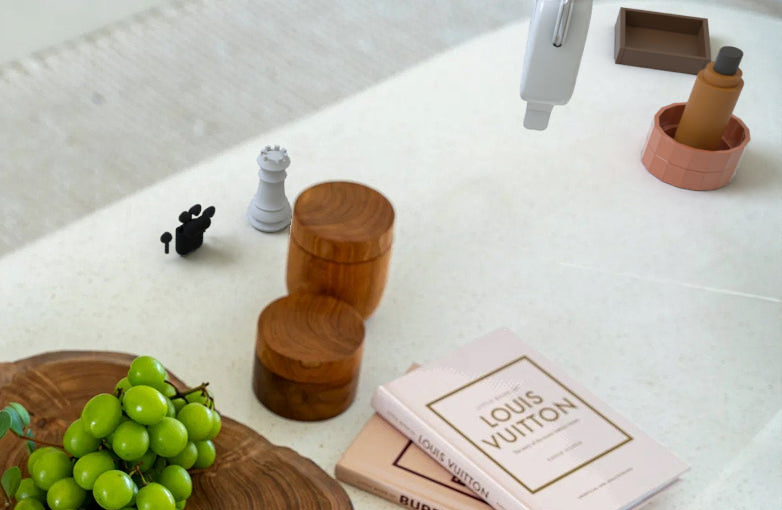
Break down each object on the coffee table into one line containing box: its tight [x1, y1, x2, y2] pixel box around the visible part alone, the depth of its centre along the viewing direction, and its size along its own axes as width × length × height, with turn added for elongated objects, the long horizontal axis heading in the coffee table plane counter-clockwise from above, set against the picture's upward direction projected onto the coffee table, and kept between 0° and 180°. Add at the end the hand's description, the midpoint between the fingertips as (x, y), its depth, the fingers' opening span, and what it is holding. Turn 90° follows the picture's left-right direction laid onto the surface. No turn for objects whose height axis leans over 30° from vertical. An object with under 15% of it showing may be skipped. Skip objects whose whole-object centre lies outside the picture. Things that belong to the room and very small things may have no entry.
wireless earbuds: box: [159, 203, 216, 257], centre depth 109 cm, size 7×2×5 cm, turn 133°
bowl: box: [640, 101, 752, 192], centre depth 119 cm, size 9×9×5 cm
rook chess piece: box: [246, 144, 292, 233], centre depth 111 cm, size 4×4×8 cm
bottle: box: [674, 45, 745, 151], centre depth 116 cm, size 4×4×13 cm
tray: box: [613, 6, 713, 76], centre depth 137 cm, size 10×10×2 cm
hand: (539, 92), depth 91 cm, fingers open, 8 cm apart
